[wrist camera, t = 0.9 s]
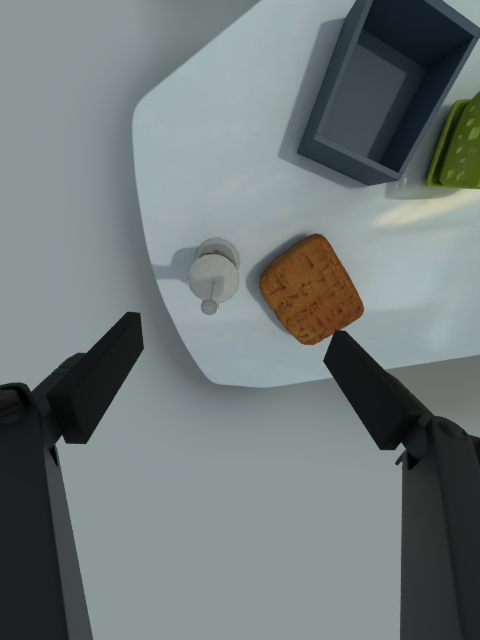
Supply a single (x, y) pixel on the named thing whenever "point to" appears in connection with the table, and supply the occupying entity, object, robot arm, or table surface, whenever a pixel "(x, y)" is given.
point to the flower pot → (458, 148)
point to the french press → (214, 273)
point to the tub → (386, 85)
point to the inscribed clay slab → (311, 291)
